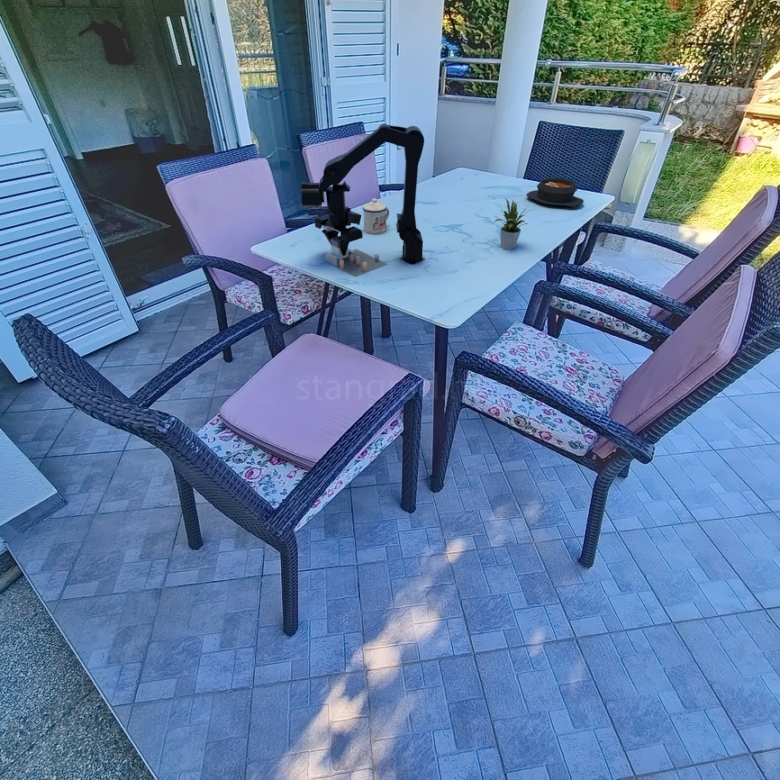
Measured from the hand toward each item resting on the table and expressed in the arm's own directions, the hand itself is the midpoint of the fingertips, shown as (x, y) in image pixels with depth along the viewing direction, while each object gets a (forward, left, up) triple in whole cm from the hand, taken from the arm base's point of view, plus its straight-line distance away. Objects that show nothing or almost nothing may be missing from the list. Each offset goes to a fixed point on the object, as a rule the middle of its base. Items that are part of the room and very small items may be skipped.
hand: (340, 253), depth 150 cm
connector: (0, 0, -1) cm, 1 cm away
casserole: (-13, -108, -3) cm, 109 cm away
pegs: (-8, -3, -2) cm, 9 cm away
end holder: (0, 0, -3) cm, 3 cm away
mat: (-4, -3, -3) cm, 6 cm away
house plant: (-28, -53, -3) cm, 60 cm away
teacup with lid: (+15, -29, -3) cm, 33 cm away
